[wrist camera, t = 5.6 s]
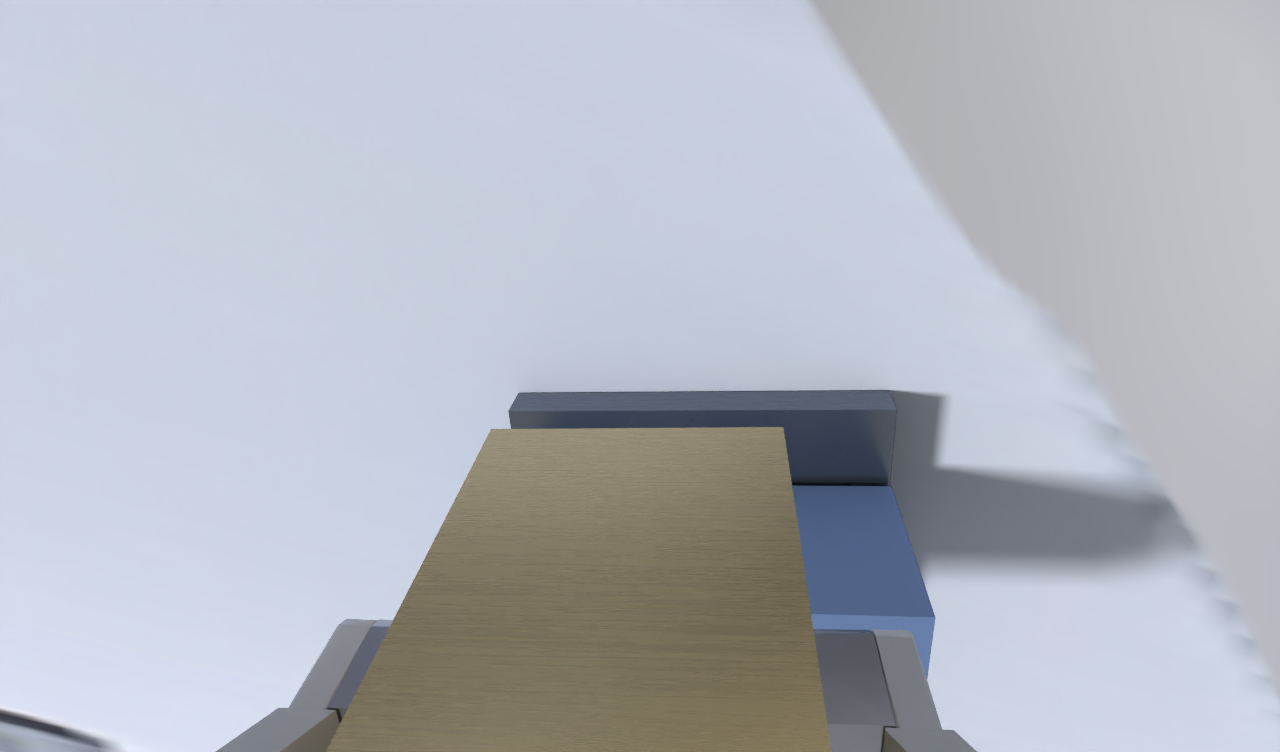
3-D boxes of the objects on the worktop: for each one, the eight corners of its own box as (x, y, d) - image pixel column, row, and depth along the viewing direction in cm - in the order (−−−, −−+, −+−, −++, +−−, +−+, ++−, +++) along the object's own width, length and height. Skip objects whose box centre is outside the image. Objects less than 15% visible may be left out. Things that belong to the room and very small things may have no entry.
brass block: (491, 429, 13) (295, 811, 7) (783, 427, 13) (844, 839, 7) (520, 605, 15) (384, 1034, 9) (779, 609, 15) (823, 1068, 8)
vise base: (518, 392, 30) (446, 524, 23) (889, 390, 28) (946, 531, 21) (575, 790, 40) (538, 975, 32) (853, 806, 38) (883, 1005, 31)
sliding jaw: (517, 483, 30) (462, 604, 24) (891, 486, 28) (935, 617, 22) (528, 558, 31) (480, 689, 25) (884, 565, 30) (923, 707, 24)
